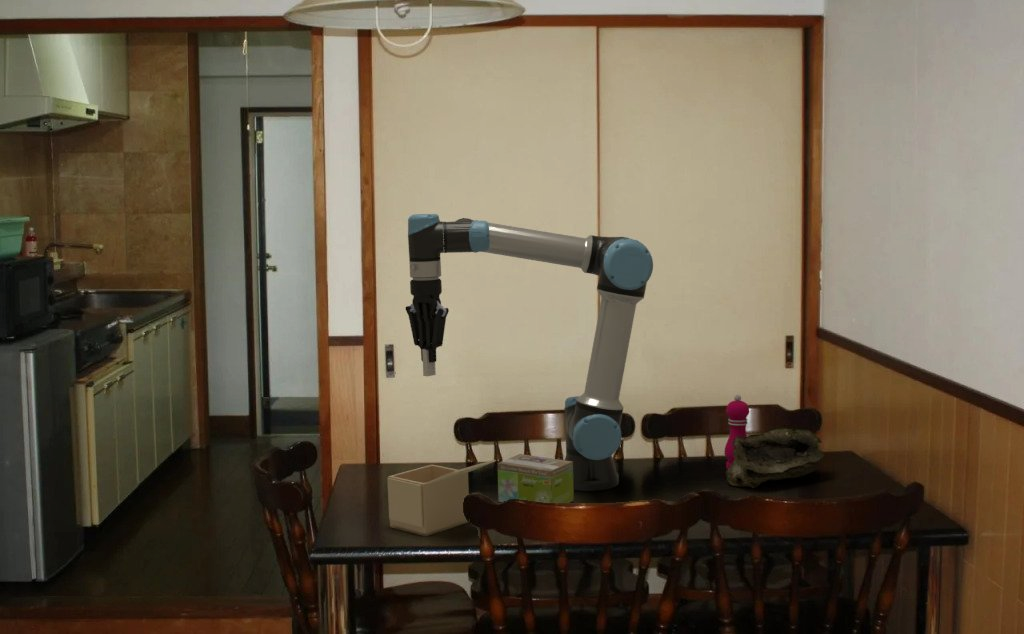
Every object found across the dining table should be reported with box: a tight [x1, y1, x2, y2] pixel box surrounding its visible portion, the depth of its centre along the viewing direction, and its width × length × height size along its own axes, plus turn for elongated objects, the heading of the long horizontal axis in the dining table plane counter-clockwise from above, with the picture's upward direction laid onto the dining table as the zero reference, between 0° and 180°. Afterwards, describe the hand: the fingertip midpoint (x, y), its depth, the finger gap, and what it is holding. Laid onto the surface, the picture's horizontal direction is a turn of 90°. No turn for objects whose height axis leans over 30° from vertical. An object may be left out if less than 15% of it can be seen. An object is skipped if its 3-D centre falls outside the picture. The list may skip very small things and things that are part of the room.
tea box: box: [497, 453, 575, 504], centre depth 279 cm, size 15×10×15 cm
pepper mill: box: [723, 394, 750, 470], centre depth 323 cm, size 7×7×20 cm
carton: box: [386, 464, 470, 537], centre depth 281 cm, size 15×13×12 cm
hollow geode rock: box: [725, 426, 825, 489], centre depth 311 cm, size 28×13×15 cm
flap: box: [426, 459, 497, 484], centre depth 272 cm, size 13×1×10 cm
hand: (429, 375), depth 293 cm, fingers closed
